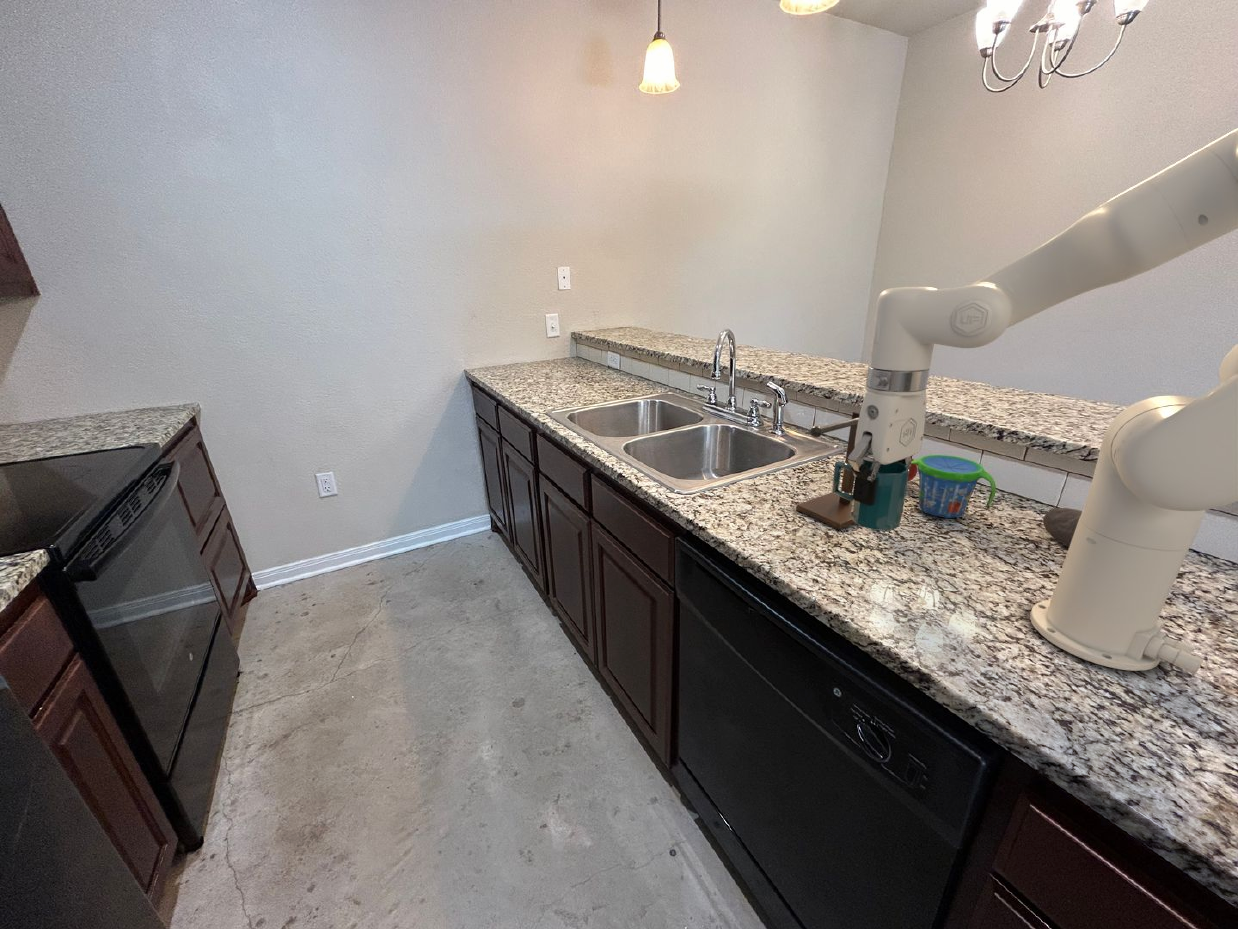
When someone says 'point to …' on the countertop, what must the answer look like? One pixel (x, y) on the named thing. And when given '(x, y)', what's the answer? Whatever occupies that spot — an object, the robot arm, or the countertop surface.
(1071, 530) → the perforated stone tool
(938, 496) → the snack cup
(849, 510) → the mug rack
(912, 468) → the onion
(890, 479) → the mug
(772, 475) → the countertop surface
